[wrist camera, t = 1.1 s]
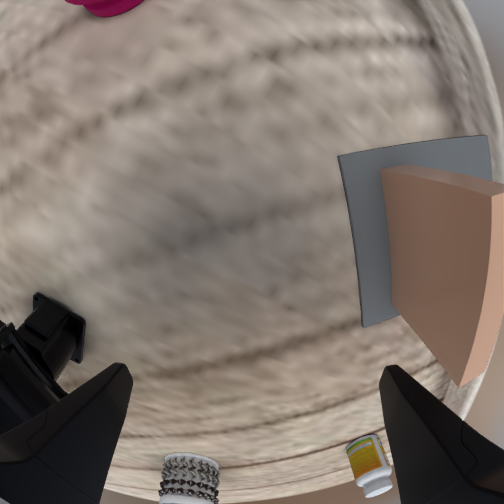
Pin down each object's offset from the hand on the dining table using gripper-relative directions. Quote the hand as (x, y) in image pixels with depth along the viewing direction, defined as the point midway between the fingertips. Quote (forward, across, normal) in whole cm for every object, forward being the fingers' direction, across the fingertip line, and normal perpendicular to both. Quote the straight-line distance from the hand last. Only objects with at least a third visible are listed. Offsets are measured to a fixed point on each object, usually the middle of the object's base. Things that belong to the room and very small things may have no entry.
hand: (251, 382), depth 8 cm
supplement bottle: (+13, -14, +33) cm, 38 cm away
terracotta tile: (+14, -11, 0) cm, 18 cm away
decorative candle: (+10, +12, +34) cm, 38 cm away
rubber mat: (+14, -15, 0) cm, 21 cm away
